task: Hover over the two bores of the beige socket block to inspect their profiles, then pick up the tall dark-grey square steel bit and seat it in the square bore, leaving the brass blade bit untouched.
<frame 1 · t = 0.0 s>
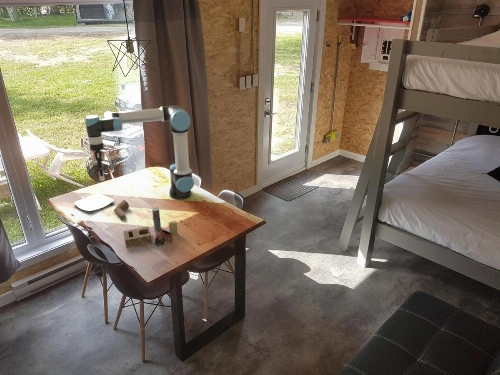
hand: (101, 176, 232), 28 cm above the table, fingers open, 13 cm apart
plate: (94, 205, 258), on the table
pipe: (123, 213, 248), on the table
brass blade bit: (173, 233, 228), on the table
square steel bit: (157, 229, 232), on the table
pottery mug: (163, 243, 219), on the table
socket block: (138, 240, 221), on the table
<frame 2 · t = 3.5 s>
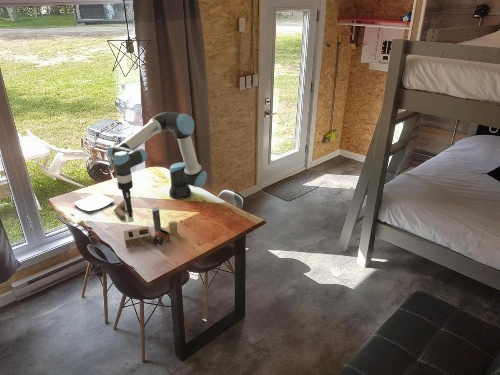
hand: (129, 215, 212), 17 cm above the table, fingers open, 13 cm apart
pottery mug: (161, 243, 219), on the table
everything else where it was.
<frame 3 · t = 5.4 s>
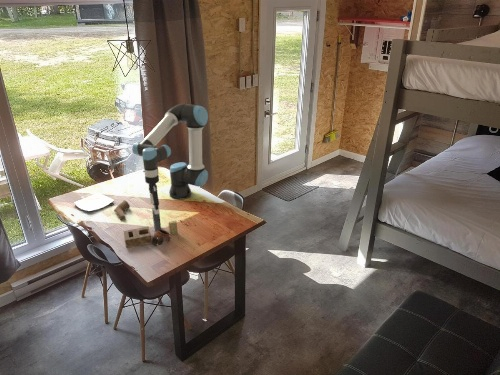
hand: (155, 208, 225), 14 cm above the table, fingers open, 13 cm apart
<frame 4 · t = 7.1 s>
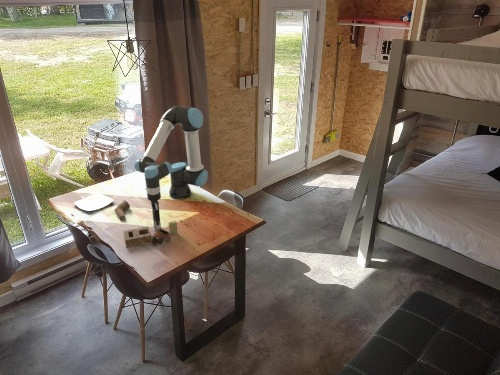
hand: (157, 227, 231), 2 cm above the table, fingers closed on square steel bit, 4 cm apart
square steel bit: (157, 229, 232), on the table, touching gripper
everything else where it was.
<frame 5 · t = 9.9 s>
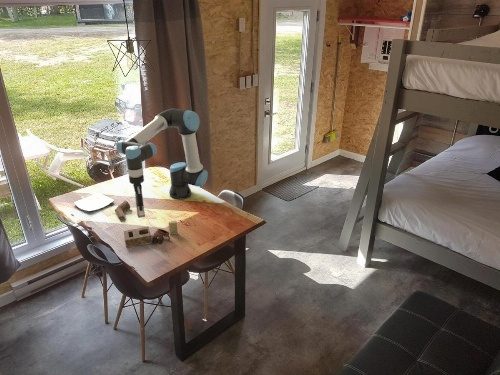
hand: (140, 213, 214), 17 cm above the table, fingers closed on square steel bit, 4 cm apart
square steel bit: (141, 215, 215), point 16 cm above the table, touching gripper
when the fingers open (5 cm above the table, at t = 12.7 s): square steel bit drops 3 cm, resting on socket block.
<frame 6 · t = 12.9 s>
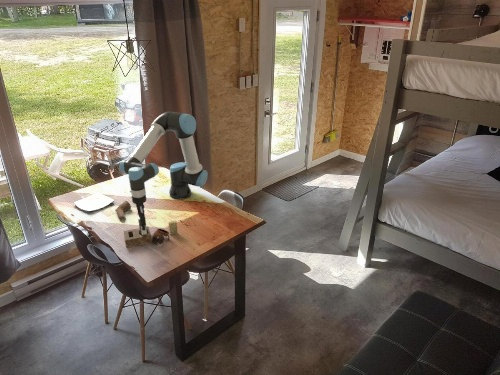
hand: (143, 230, 219), 6 cm above the table, fingers open, 7 cm apart
square steel bit: (144, 237, 222), point 1 cm above the table, touching socket block
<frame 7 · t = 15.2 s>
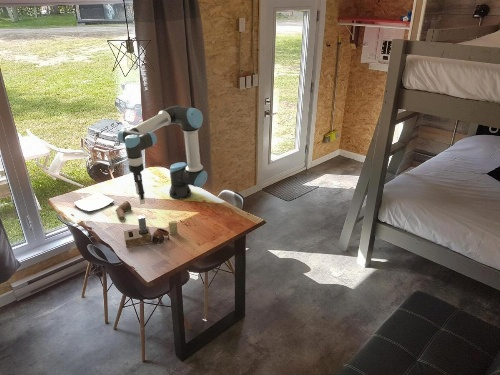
hand: (140, 198, 216), 24 cm above the table, fingers open, 13 cm apart
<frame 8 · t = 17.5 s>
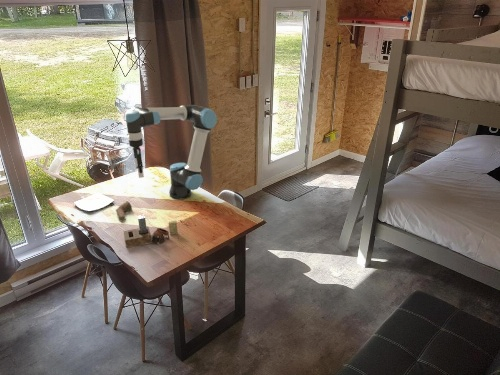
hand: (139, 172, 228), 32 cm above the table, fingers open, 13 cm apart
at the end: square steel bit 0.1 cm from the target spot on the socket block, point 1.0 cm above the socket block's base; square steel bit tilted 0°; the gripper is holding nothing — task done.
